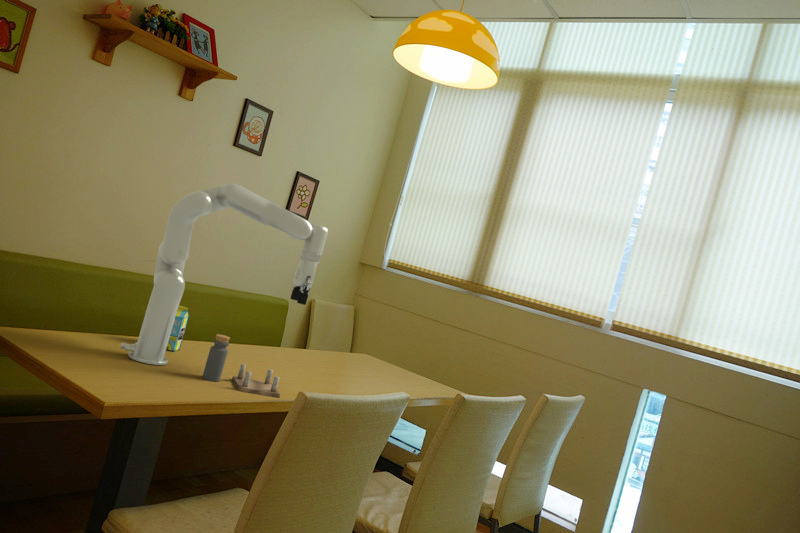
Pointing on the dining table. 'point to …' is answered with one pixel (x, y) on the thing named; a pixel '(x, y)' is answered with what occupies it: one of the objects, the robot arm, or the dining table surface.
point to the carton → (178, 329)
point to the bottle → (216, 359)
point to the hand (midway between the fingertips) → (297, 301)
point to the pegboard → (256, 383)
